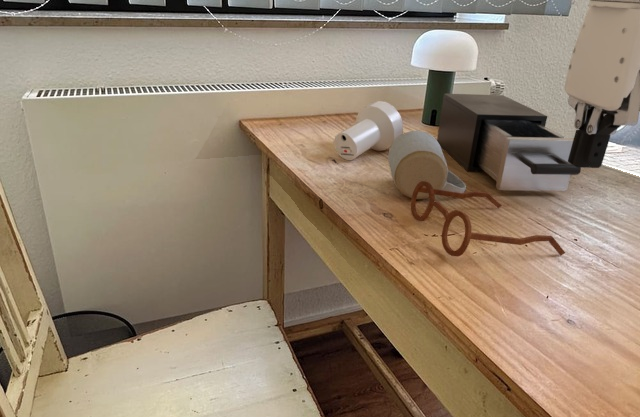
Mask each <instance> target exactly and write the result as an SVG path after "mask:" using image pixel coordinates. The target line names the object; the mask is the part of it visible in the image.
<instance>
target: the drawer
mask: <svg viewBox="0 0 640 417" xmlns="http://www.w3.org/2000/svg"><path fill="white" fill-rule="evenodd" d="M573 140H574V137H565V136H564V135H562V134H561V133H558V132H556V131H554V130H552V129H551V128H548V127H546V126H545V127H544V126H542V125H541V124H539V123H537V122H535V121H519V120H482V121H481V126H480V131H479V137H478V142H477V148H476V153H475V159H474V162H475V163H476V164H477V165H478V166H479V167H480V168H482V169H483V170H484V171H485V172H484V173H486V174H487V175H488V176H489V177H491V179H493V180H494V181H495V182H496V184H495V188H496V189H497V190H498V191H526V192H527V191H532V192H534V191H535V192H536V191H537V192H540V191H541V192H544V191H545V192H546V191H547V192H552V191H553V192H566V191H567V190H568V186H569V182H570V179H571V176H578V175H580V173H581V168H578V167H576V166H574V165H573V164H570V163H569V162H568V158H569V154H570V151H571V147H572V143H573Z"/></svg>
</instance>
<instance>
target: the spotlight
mask: <svg viewBox="0 0 640 417" xmlns="http://www.w3.org/2000/svg"><path fill="white" fill-rule="evenodd" d="M402 134H404V122H403V118H402V117H401V114H400V113H399V112H398V110H397V108H396V107H395V106H393V105H392V104H391V103H389V102H387V101H384V100H383V101H382V100H377V101H373V102H371V103H369V104H367V105H365V106H364V107H362V108H361V109H360V110H359V111H358V112H357V115H356V118H355V123H354V124H352V125H351V126H349V127H347V128H345V129H343V130H342V131H340V132H338V133H337V134H336V135H335V136H334V139H333V146H334V149H335V152H336V153H337V154H338V156H339V157H341V158H342V159H343V160H346V161H352V160H355V159H356V158H357V157H359V156H360V155H363V153H365V152H367V151H368V150H370V149H371V150H374V151H376V152H377V151H378V152H382V151H387V150H388V149H390V147H391V145H392V144H393V142H394V141H395V140H396V139H397V138H398V137H399V136H400V135H402Z"/></svg>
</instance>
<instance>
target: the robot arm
mask: <svg viewBox="0 0 640 417" xmlns="http://www.w3.org/2000/svg"><path fill="white" fill-rule="evenodd" d="M564 91H565V92H566V94H567V95H568V99H567V104H568V105H569V106H570V107H571V108H572V109H573V110H574V112H575V118H574V129H575V132H574V136H573V138H574V140H573V143H572V147H571V151H570V154H569V158H568V162H569V163H570V164H573V165H574V166H576V167H578V168H584V169H588V168H589V169H599V168H601V167H602V165H603V162H604V158H605V155H606V153H607V152H606V151H607V148H608V146H609V141H610V139H611V136H614V135H615V134H616V133H617V131H618V129H619V128H620V127H621V126H629V127H630V126H633V127H634V126H636V125H637V124H638V122H639V116H640V0H589V2H588V10H587V12H586V14H585V16H584V18H583V21H582V24H581V27H580V30H579V32H578V35H577V38H576V41H575V44H574V47H573V50H572V53H571V56H570V61H569V64H568V68H567V72H566V76H565V83H564Z"/></svg>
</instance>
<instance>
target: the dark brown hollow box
mask: <svg viewBox="0 0 640 417" xmlns="http://www.w3.org/2000/svg"><path fill="white" fill-rule="evenodd" d="M482 120H519V121H535V122H537V123H539V124H541V125H542V126H544V127H546V124H547V121H548V115H546V114H544V113H542V112H540V111H537V110H535V109H533V108H531V107H530V106H527V105H526V104H525V105H524V104H522V103H521V102H519V101H516V100H514V99H512V98H510V97H508V96H506V95H504V94H473V93H472V94H471V93H443V98H442V103H441V110H440V117H439V123H438V124H439V125H438V130H437V138H436V140H437V141H438V143H439V144H440V147H441V149H442V150H444V151H445V152H446V153H447V154H448V155H449V156H450V157H451V158H452V159H453V160H454V161H455V162H457V163H458V164H459V165H460V166H461V168H463V169H464V170H465V171H466V172H469V173H470V172H476V173H477V172H479V173H480V172H481V173H482V172H483V173H486V172H485V171H484V170H483V169H482V168H480V167H479V166H478V165H477V164H476V163H475V162H474V159H475V153H476V148H477V142H478V137H479V131H480V126H481V121H482Z"/></svg>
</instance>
